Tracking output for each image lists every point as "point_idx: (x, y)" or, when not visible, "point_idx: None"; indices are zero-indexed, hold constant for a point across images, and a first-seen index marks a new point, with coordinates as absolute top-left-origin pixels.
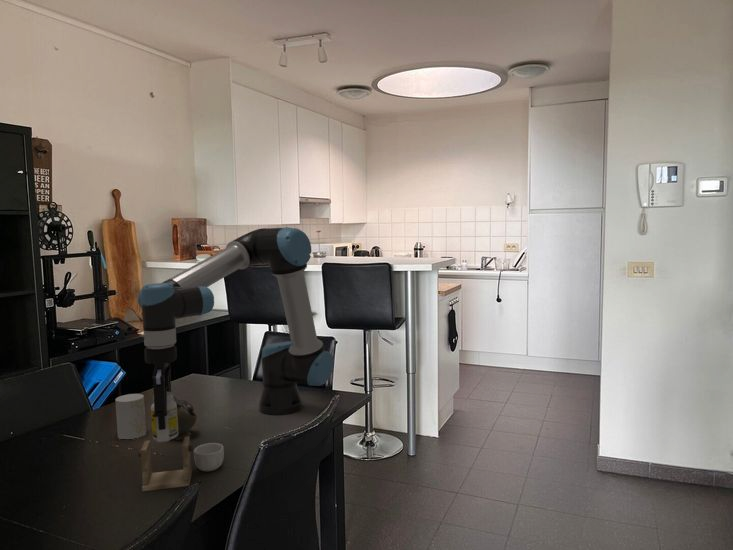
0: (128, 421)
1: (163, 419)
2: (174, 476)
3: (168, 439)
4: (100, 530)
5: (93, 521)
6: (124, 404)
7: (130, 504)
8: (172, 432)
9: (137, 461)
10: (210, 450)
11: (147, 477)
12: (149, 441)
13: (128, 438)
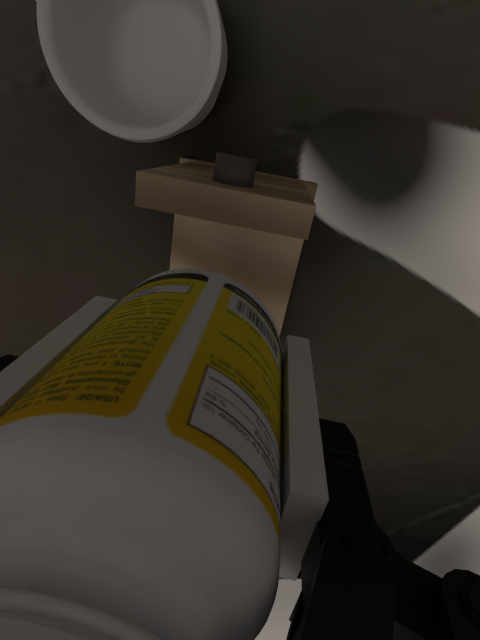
0: None
1: (369, 514)
2: (234, 237)
3: (308, 347)
4: (469, 448)
5: (402, 458)
6: None
7: (354, 377)
8: (270, 332)
9: (23, 339)
10: (74, 30)
11: None
12: None
13: None
